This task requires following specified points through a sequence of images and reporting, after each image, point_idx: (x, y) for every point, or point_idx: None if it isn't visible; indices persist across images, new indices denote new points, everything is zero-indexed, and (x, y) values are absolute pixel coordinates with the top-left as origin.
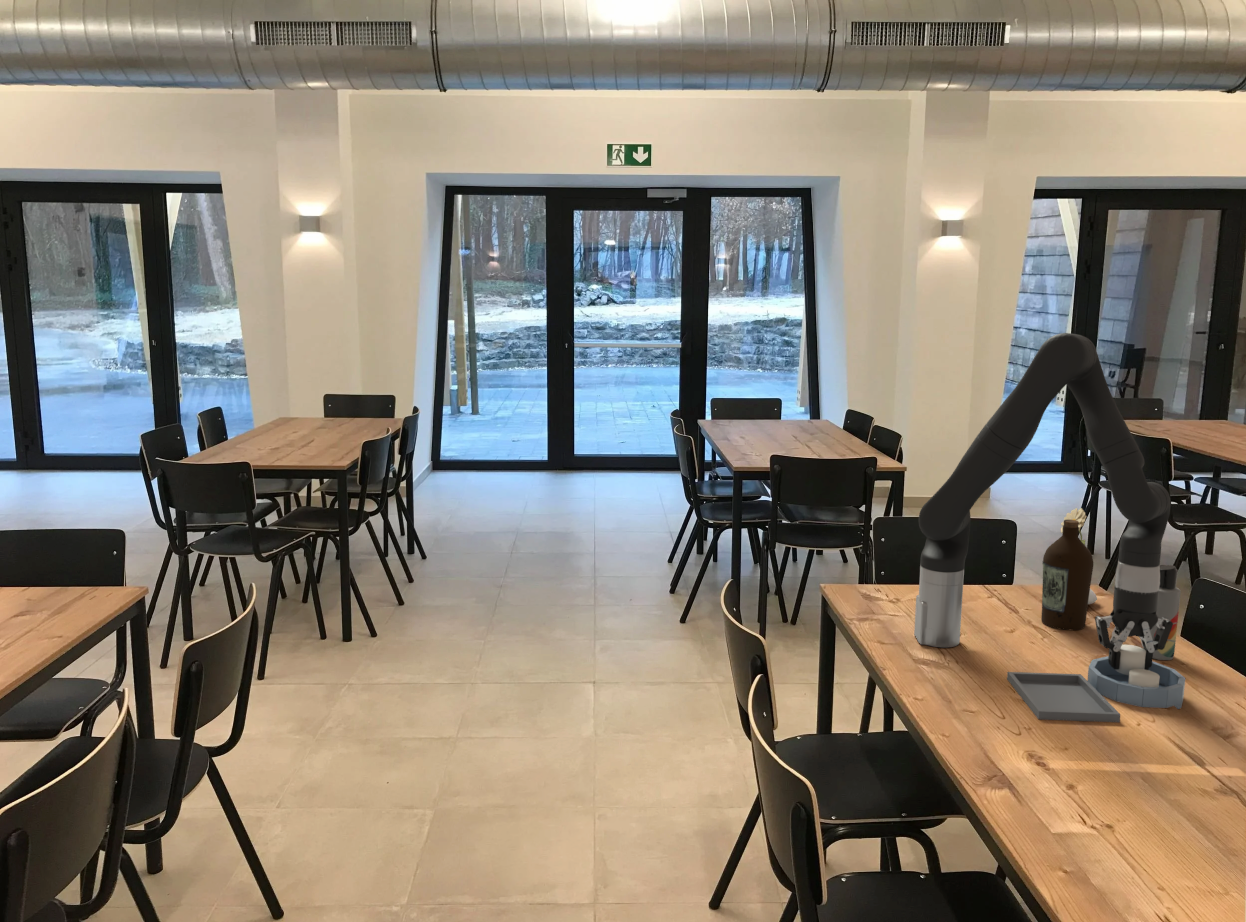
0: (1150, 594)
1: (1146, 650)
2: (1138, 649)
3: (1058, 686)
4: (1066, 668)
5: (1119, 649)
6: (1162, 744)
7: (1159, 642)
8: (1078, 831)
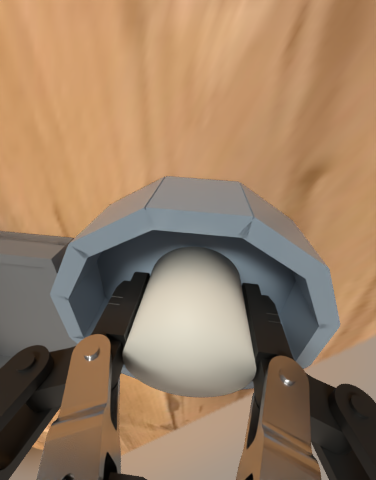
0: None
1: (254, 383)
2: (222, 373)
3: (11, 270)
4: (41, 80)
5: (119, 381)
6: (151, 388)
7: (324, 469)
8: (47, 431)
